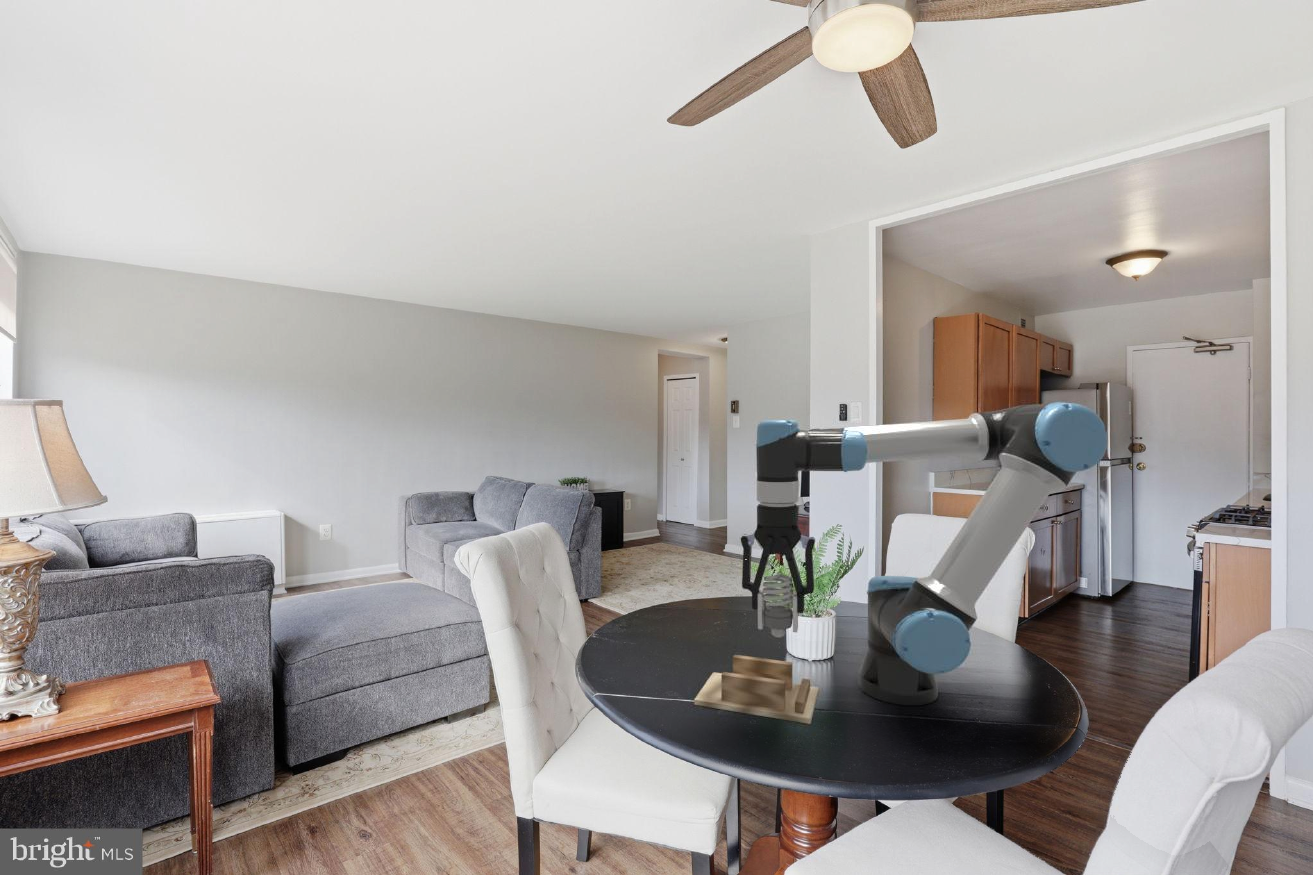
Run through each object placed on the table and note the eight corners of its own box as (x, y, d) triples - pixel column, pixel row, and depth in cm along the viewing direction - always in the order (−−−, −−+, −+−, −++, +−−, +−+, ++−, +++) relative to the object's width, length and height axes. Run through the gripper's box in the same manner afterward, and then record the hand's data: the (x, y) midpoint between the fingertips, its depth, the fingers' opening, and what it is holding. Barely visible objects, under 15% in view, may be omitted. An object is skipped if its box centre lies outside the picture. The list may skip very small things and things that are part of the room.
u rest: (818, 692, 125) (818, 662, 125) (810, 723, 112) (810, 691, 112) (713, 676, 133) (713, 649, 132) (694, 704, 119) (694, 674, 119)
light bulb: (788, 632, 117) (788, 569, 117) (797, 642, 111) (797, 577, 111) (759, 633, 117) (759, 570, 116) (767, 644, 111) (767, 578, 111)
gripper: (830, 502, 114) (830, 626, 115) (730, 499, 120) (731, 617, 120) (829, 507, 107) (829, 640, 108) (723, 504, 113) (724, 630, 113)
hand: (778, 628), depth 114 cm, fingers closed on light bulb, 6 cm apart
